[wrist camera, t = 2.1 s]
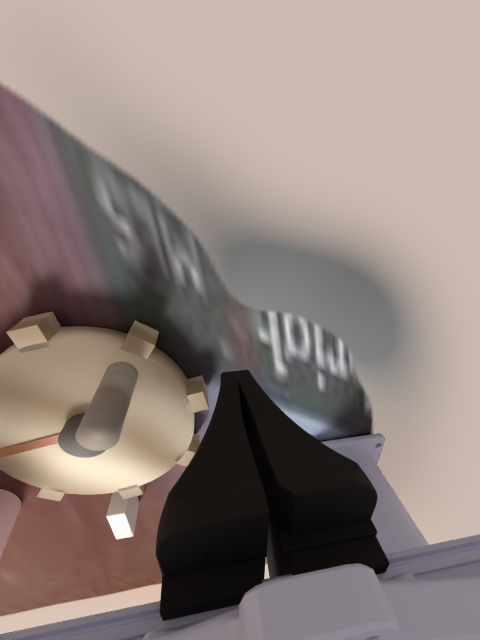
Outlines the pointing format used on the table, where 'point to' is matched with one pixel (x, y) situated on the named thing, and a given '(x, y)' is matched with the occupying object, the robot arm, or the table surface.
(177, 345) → the table surface
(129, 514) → the index pointer
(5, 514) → the smoothie
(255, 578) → the robot arm
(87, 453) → the sprocket
